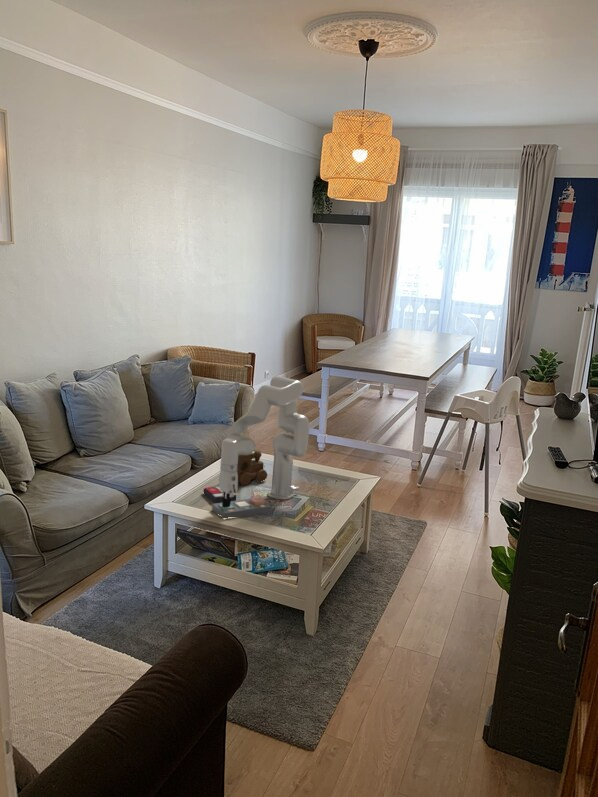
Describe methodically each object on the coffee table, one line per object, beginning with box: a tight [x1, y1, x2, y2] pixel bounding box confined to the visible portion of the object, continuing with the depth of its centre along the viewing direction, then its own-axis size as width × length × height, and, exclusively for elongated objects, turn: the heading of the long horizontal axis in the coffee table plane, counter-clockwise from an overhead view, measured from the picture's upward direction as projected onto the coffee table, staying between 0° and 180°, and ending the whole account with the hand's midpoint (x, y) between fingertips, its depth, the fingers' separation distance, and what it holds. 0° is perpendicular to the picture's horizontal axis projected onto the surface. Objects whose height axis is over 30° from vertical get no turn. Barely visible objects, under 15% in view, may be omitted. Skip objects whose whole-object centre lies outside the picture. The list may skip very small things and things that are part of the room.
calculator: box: [202, 485, 237, 504], centre depth 295 cm, size 11×4×15 cm
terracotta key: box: [249, 496, 266, 506], centre depth 284 cm, size 5×5×2 cm
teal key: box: [219, 504, 234, 511], centre depth 276 cm, size 5×5×2 cm
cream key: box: [235, 501, 250, 508], centre depth 280 cm, size 5×5×2 cm
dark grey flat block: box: [211, 498, 273, 519], centre depth 280 cm, size 24×12×3 cm, turn 123°
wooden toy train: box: [237, 449, 268, 486], centre depth 321 cm, size 20×11×17 cm, turn 130°
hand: (226, 506), depth 275 cm, fingers closed
